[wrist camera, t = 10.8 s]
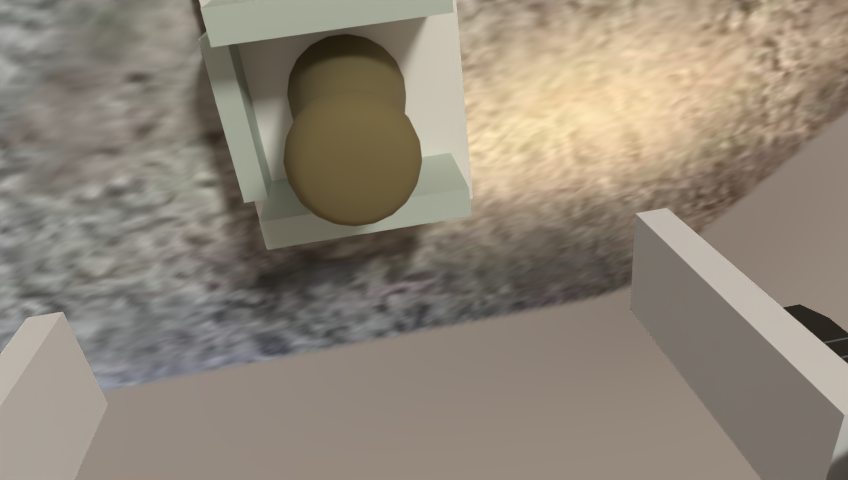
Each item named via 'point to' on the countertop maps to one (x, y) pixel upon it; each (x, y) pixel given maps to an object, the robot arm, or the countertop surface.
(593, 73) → the countertop surface
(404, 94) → the brown rounded knob
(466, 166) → the holder
